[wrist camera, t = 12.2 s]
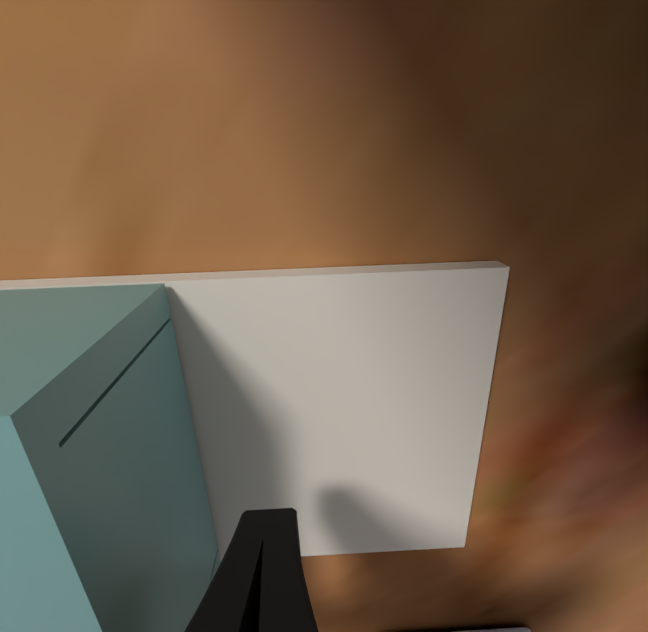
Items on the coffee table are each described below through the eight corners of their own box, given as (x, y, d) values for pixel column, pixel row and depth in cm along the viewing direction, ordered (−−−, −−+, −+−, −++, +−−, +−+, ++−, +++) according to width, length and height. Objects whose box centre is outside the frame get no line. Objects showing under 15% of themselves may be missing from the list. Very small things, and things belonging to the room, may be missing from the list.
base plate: (457, 529, 16) (500, 637, 13) (38, 552, 16) (-42, 670, 12) (497, 260, 12) (582, 306, 8) (-89, 284, 11) (-278, 343, 8)
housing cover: (221, 565, 15) (172, 795, 10) (72, 574, 15) (-64, 811, 10) (164, 283, 11) (9, 415, 5) (-51, 292, 11) (-447, 438, 5)
